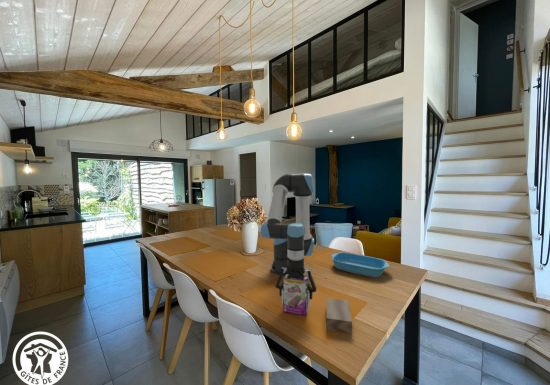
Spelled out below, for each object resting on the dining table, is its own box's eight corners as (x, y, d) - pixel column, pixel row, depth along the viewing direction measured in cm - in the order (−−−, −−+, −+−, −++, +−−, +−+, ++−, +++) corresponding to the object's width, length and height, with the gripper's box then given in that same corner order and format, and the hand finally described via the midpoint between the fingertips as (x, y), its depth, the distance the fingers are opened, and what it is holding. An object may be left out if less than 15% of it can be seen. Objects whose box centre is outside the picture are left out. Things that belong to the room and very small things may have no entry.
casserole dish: (391, 269, 155) (391, 259, 155) (386, 282, 137) (386, 270, 136) (337, 259, 175) (337, 250, 175) (326, 269, 157) (326, 259, 156)
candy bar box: (282, 312, 107) (282, 278, 106) (285, 306, 112) (285, 273, 111) (306, 317, 104) (306, 281, 102) (308, 310, 108) (308, 276, 107)
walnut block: (326, 329, 95) (326, 318, 94) (326, 308, 110) (327, 298, 110) (351, 333, 92) (352, 321, 92) (348, 310, 108) (349, 300, 108)
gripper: (268, 258, 105) (269, 305, 107) (321, 262, 100) (321, 311, 101) (272, 253, 112) (273, 296, 114) (322, 257, 107) (322, 302, 108)
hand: (295, 303), depth 108 cm, fingers closed on candy bar box, 11 cm apart
